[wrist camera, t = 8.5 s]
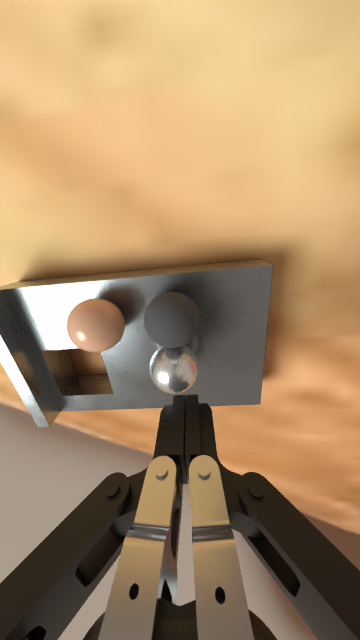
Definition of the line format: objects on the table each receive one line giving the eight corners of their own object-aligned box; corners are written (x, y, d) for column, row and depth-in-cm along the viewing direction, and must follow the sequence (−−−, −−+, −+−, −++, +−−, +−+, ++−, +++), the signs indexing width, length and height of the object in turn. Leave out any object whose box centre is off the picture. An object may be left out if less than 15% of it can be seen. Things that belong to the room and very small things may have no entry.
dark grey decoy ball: (145, 287, 12) (132, 305, 9) (197, 283, 12) (199, 300, 9) (153, 332, 14) (144, 360, 11) (200, 329, 13) (203, 357, 10)
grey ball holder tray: (18, 281, 15) (-37, 298, 12) (259, 258, 14) (284, 269, 10) (66, 390, 20) (38, 427, 16) (251, 382, 18) (266, 420, 15)
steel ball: (207, 341, 12) (165, 327, 14) (177, 380, 10) (133, 358, 12) (209, 374, 14) (172, 358, 16) (184, 413, 12) (145, 390, 14)
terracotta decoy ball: (77, 293, 13) (43, 312, 10) (125, 289, 12) (105, 307, 10) (91, 337, 14) (65, 365, 11) (135, 334, 14) (120, 362, 11)
